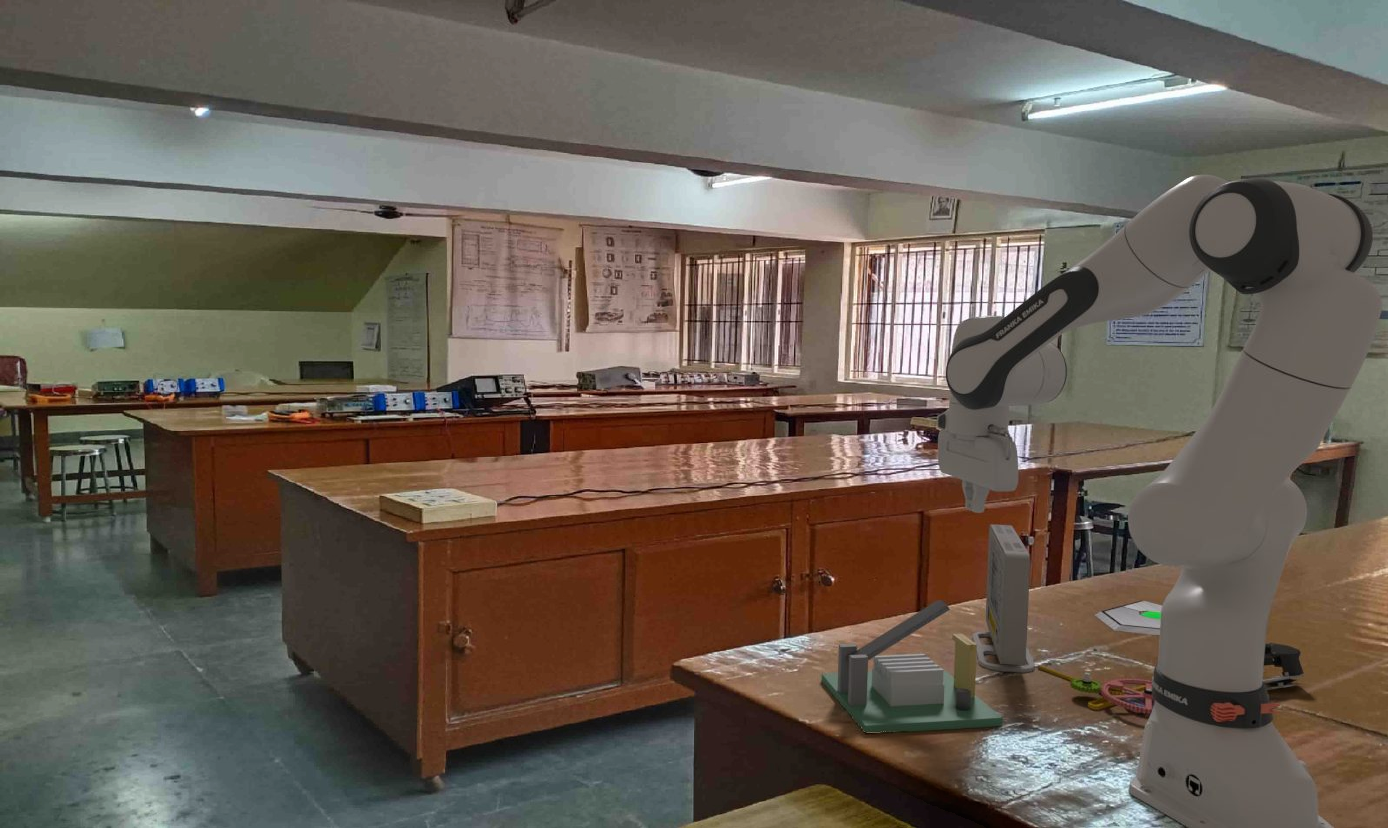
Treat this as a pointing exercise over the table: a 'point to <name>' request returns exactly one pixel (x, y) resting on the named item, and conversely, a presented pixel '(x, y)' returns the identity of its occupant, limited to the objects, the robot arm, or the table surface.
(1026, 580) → the network device
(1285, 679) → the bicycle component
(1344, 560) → the table surface
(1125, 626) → the security device
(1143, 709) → the mechanical gear assembly
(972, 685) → the board
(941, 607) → the strap
